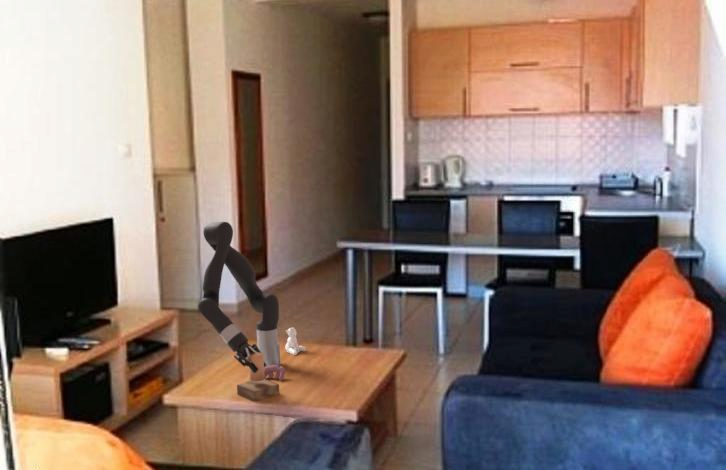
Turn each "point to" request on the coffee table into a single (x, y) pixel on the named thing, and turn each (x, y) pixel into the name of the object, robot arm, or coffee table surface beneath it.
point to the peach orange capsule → (259, 363)
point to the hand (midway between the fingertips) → (260, 368)
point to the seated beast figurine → (293, 343)
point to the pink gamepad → (274, 368)
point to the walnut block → (258, 389)
